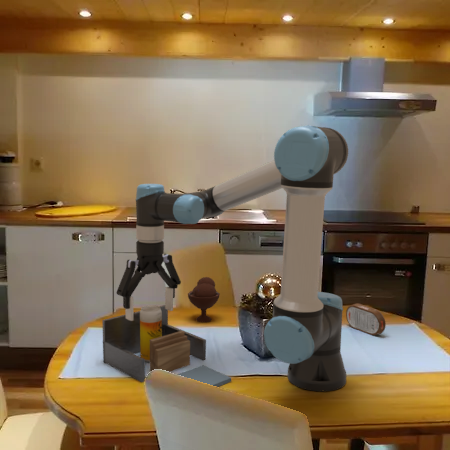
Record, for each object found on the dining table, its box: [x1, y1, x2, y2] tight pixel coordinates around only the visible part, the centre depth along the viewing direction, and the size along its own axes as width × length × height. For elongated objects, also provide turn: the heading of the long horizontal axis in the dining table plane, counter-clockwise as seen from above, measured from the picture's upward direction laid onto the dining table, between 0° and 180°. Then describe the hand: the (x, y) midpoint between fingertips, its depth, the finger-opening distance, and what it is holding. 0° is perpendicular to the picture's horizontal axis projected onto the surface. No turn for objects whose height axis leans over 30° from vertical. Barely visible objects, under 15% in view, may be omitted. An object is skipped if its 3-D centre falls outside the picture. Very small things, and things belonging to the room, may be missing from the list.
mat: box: [177, 364, 232, 388], centre depth 139 cm, size 11×11×1 cm
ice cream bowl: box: [187, 276, 221, 323], centre depth 187 cm, size 11×11×15 cm
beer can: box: [139, 304, 162, 363], centre depth 152 cm, size 6×6×15 cm
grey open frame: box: [102, 304, 207, 383], centre depth 151 cm, size 18×22×12 cm
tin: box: [345, 303, 387, 336], centre depth 178 cm, size 15×3×8 cm, turn 34°
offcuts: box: [149, 330, 191, 373], centre depth 147 cm, size 4×11×9 cm, turn 134°
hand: (149, 314), depth 152 cm, fingers open, 13 cm apart
